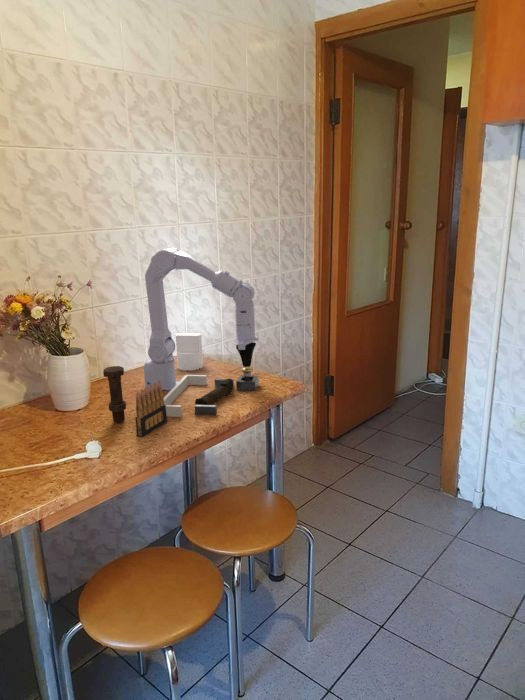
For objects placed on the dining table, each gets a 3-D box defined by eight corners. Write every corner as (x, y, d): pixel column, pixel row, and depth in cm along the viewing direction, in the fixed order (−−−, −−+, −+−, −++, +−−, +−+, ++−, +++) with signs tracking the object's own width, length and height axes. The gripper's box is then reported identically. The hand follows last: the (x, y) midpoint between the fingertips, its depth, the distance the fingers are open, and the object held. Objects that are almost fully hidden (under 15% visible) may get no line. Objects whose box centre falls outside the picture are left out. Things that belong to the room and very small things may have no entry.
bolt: (133, 418, 147) (128, 366, 143) (123, 426, 143) (117, 372, 139) (115, 416, 149) (109, 365, 145) (104, 423, 145) (98, 370, 141)
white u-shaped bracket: (156, 416, 149) (155, 406, 148) (186, 383, 175) (185, 374, 175) (181, 416, 148) (180, 406, 147) (207, 383, 174) (206, 375, 174)
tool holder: (195, 414, 149) (194, 404, 148) (217, 383, 174) (217, 374, 174) (242, 416, 147) (242, 405, 146) (258, 384, 172) (258, 375, 171)
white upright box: (174, 370, 190) (172, 337, 187) (182, 362, 199) (180, 331, 196) (199, 370, 189) (197, 337, 186) (205, 363, 197) (204, 331, 194)
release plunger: (240, 381, 168) (240, 369, 167) (242, 377, 171) (242, 366, 170) (252, 381, 167) (251, 370, 166) (254, 378, 170) (253, 366, 169)
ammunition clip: (161, 421, 145) (158, 379, 142) (167, 422, 145) (164, 379, 142) (136, 436, 136) (132, 391, 133) (142, 437, 135) (138, 392, 132)
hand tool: (206, 413, 151) (205, 397, 149) (194, 410, 153) (193, 395, 151) (240, 392, 167) (240, 377, 166) (229, 390, 169) (228, 376, 167)
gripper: (254, 329, 157) (255, 373, 160) (261, 318, 171) (263, 359, 174) (230, 329, 158) (232, 373, 161) (240, 318, 172) (241, 359, 175)
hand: (246, 366), depth 168 cm, fingers closed
